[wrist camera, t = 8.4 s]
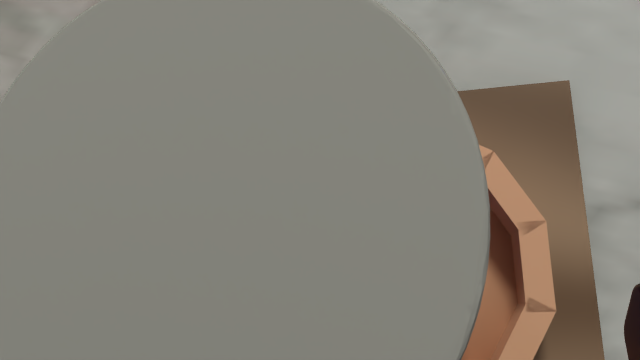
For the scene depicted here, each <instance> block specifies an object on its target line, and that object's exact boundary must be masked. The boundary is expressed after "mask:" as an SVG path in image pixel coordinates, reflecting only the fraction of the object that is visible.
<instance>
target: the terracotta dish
mask: <svg viewBox="0 0 640 360" xmlns="http://www.w3.org/2000/svg"><path fill="white" fill-rule="evenodd" d="M479 148H480V152H481V155H482V159H483V163H484V168H485V174H486V180H487V186H488V195H489V204H490V247H489V261H488V269H487V275H486V281H485V286H484V291H483V296H482V301H481V305H480V309H479V312H478V316H477V319H476V322H475V326H474V329H473V332H472V334H471V337H470V340H469V342H468V345H467V348H466V350H465V352H464V354H463V356H462V359H461V360H533V358H534V356H535V354H536V352H537V350H538V348H539V346H540V344H541V342H542V340H543V338H544V336H545V334H546V332H547V330H548V327H549V325H550V323H551V321H552V319H553V317H554V315H555V313H556V304H555V295H554V286H553V277H552V268H551V259H550V250H549V241H548V232H547V223H546V222H547V221H546V220H545V219H544V217H543V216H542V215H541V213H540V212H539V211H538V209H537V208H536V207H535V205H534V204H533V203H532V201H531V200H530V199H529V197H528V196H527V195H526V193H525V192H524V191H523V189H522V188H521V187H520V185H519V184H518V183H517V181H516V180H515V179H514V177H513V176H512V175H511V173H510V172H509V171H508V169H507V168H506V167H505V165H504V164H503V163H502V161H501V160H500V159H499V157H498V156H497V155H496V153H495V152H494V151H492V150H490V149H488V148H485V147H483V146H481V145H479Z"/></svg>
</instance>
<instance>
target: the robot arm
mask: <svg viewBox="0 0 640 360" xmlns="http://www.w3.org/2000/svg"><path fill="white" fill-rule="evenodd" d="M624 337H625V343H626V348H627V353H628V358H629V360H640V284H637V285H636V286H635V287H634V289H633V291H632V295H631V299H630V303H629V307H628V311H627V315H626V319H625V324H624Z"/></svg>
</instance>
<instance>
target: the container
mask: <svg viewBox="0 0 640 360" xmlns="http://www.w3.org/2000/svg"><path fill="white" fill-rule="evenodd" d="M489 247H490V204H489V195H488V186H487V180H486V174H485V168H484V163H483V159H482V155H481V152H480V148H479V144H478V140H477V137H476V134H475V132H474V129H473V126H472V123H471V121H470V118H469V115H468V113H467V111H466V109H465V107H464V104H463V102H462V100H461V98H460V96H459V94H458V92H457V90H456V88H455V87H454V85H453V83H452V82H451V80H450V78H449V77H448V75H447V73H446V72H445V70H444V69H443V67H442V66H441V65H440V63H439V62H438V60H437V59H436V58H435V56H434V55H433V54H432V52H431V51H430V50H429V49H428V48H427V46H426V45H425V44H424V43H423V42H422V41H421V39H420V38H419V37H418V36H417V35H416V34H415V33H414V32H413V31H412V30H411V29H410V28H409V27H408V26H407V25H406V24H404V23H403V22H402V21H401V20H400V19H399V18H398V17H397V16H395V15H394V14H393V13H392V12H390V11H389V10H388V9H386V8H385V7H384V6H383V5H381V4H380V3H379V2H377V1H375V0H101V1H100V2H98V3H97V4H95V5H93V6H92V7H90V8H89V9H87V10H86V11H85V12H83V13H82V14H80V15H79V16H78V17H76V18H75V19H74V20H73V21H71V22H70V23H69V24H68V25H66V26H65V27H64V28H63V29H62V30H60V31H59V32H58V33H57V34H56V35H55V36H54V37H53V38H52V39H51V40H50V41H49V42H47V43H46V44H45V45H44V46H43V47H42V49H41V50H40V51H39V52H38V53H37V54H36V55H35V56H34V58H33V59H32V60H31V61H30V62H29V63H28V64H27V65H26V67H25V68H24V69H23V71H22V72H21V73H20V74H19V76H18V77H17V78H16V80H15V81H14V82H13V84H12V85H11V87H10V88H9V90H8V91H7V93H6V94H5V96H4V97H3V99H2V100H1V102H0V360H461V359H462V356H463V354H464V352H465V350H466V348H467V345H468V342H469V340H470V337H471V334H472V332H473V329H474V326H475V322H476V319H477V316H478V312H479V309H480V305H481V301H482V296H483V291H484V286H485V281H486V275H487V269H488V261H489Z"/></svg>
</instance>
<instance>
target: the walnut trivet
mask: <svg viewBox="0 0 640 360" xmlns="http://www.w3.org/2000/svg"><path fill="white" fill-rule="evenodd" d="M457 92H458V94H459V96H460V98H461V100H462V102H463V104H464V107H465V109H466V111H467V113H468V115H469V118H470V121H471V123H472V126H473V129H474V132H475V134H476V137H477V140H478V144H479V145H481V146H483V147H485V148H488V149H490V150H492V151H494V152H495V153H496V155H497V156H498V157H499V159H500V160H501V161H502V163H503V164H504V165H505V167H506V168H507V169H508V171H509V172H510V173H511V175H512V176H513V177H514V179H515V180H516V181H517V183H518V184H519V185H520V187H521V188H522V189H523V191H524V192H525V193H526V195H527V196H528V197H529V199H530V200H531V201H532V203H533V204H534V205H535V207H536V208H537V209H538V211H539V212H540V213H541V215H542V216H543V217H544V219H545V220H546V221H547V222H546V223H547V232H548V241H549V250H550V259H551V268H552V277H553V286H554V295H555V304H556V313H555V315H554V317H553V319H552V321H551V323H550V325H549V327H548V330H547V332H546V334H545V336H544V338H543V340H542V342H541V344H540V346H539V348H538V350H537V352H536V354H535V356H534V358H533V360H605V359H604V352H603V344H602V336H601V328H600V320H599V312H598V304H597V296H596V288H595V280H594V273H593V265H592V257H591V249H590V241H589V233H588V225H587V217H586V209H585V202H584V194H583V186H582V178H581V170H580V162H579V154H578V146H577V138H576V130H575V123H574V115H573V107H572V99H571V91H570V83H569V80H568V81H558V82H548V83H537V84H527V85H517V86H507V87H497V88H487V89H477V90H467V91H457Z"/></svg>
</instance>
